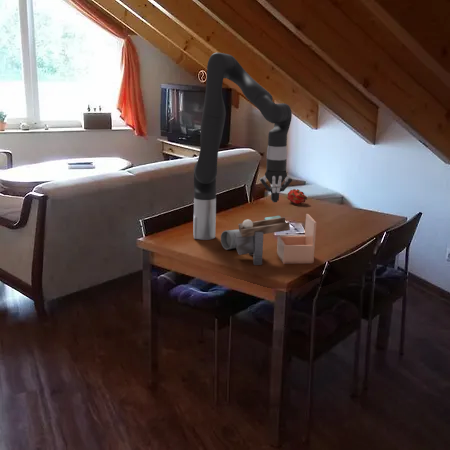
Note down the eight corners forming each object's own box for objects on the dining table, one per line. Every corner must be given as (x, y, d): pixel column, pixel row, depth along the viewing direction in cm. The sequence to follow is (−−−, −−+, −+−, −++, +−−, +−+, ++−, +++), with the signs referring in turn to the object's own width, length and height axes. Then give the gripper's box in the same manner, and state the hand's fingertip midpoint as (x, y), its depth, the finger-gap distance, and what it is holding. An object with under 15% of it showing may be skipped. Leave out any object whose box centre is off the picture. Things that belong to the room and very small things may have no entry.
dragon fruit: (286, 203, 299) (305, 211, 293) (280, 197, 292) (299, 204, 286) (293, 190, 301) (312, 197, 294) (288, 183, 294) (307, 190, 287)
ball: (244, 232, 205) (242, 222, 204) (243, 229, 209) (240, 219, 208) (254, 229, 205) (252, 219, 204) (253, 226, 209) (250, 216, 208)
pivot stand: (254, 265, 205) (255, 232, 201) (248, 253, 217) (249, 222, 213) (262, 264, 205) (263, 232, 201) (255, 253, 217) (257, 222, 214)
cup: (283, 263, 207) (285, 222, 202) (276, 253, 218) (278, 214, 213) (313, 263, 208) (316, 222, 203) (305, 252, 219) (308, 213, 214)
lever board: (239, 255, 205) (236, 230, 202) (233, 242, 221) (230, 217, 218) (291, 247, 207) (289, 222, 204) (282, 234, 222) (280, 210, 219)
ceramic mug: (247, 248, 223) (247, 230, 220) (231, 252, 218) (231, 233, 216) (231, 241, 231) (231, 224, 229) (215, 245, 226) (215, 227, 224)
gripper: (261, 159, 204) (259, 204, 210) (296, 159, 206) (293, 204, 211) (257, 155, 212) (256, 199, 217) (291, 155, 213) (289, 199, 218)
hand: (274, 201), depth 214 cm, fingers closed
